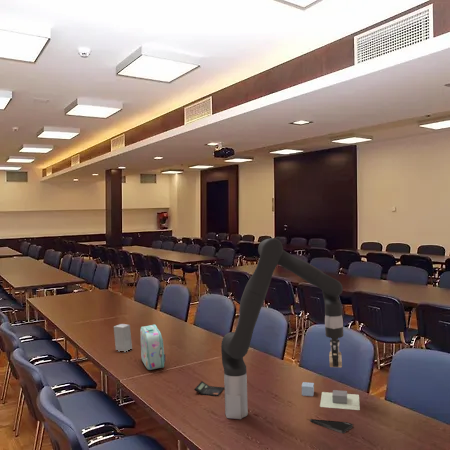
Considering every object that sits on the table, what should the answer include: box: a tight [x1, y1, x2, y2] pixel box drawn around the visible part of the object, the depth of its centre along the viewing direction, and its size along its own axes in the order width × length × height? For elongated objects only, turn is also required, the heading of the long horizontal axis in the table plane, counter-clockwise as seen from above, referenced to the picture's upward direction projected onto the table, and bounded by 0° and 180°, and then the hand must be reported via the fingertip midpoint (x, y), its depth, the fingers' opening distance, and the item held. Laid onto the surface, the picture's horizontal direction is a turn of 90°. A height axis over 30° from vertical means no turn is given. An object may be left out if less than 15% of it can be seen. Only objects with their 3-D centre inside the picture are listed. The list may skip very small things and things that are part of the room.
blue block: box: [301, 381, 315, 397], centre depth 205 cm, size 5×5×5 cm
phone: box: [309, 418, 354, 434], centre depth 177 cm, size 8×1×15 cm
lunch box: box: [139, 323, 166, 371], centre depth 252 cm, size 27×10×21 cm, turn 20°
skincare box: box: [113, 323, 133, 353], centre depth 280 cm, size 8×7×16 cm
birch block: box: [328, 351, 343, 368], centre depth 196 cm, size 5×5×5 cm
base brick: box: [332, 389, 348, 404], centre depth 196 cm, size 6×6×3 cm
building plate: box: [319, 391, 361, 411], centre depth 196 cm, size 16×16×1 cm
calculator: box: [193, 380, 225, 397], centre depth 213 cm, size 9×12×3 cm
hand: (335, 364), depth 196 cm, fingers closed on birch block, 5 cm apart
